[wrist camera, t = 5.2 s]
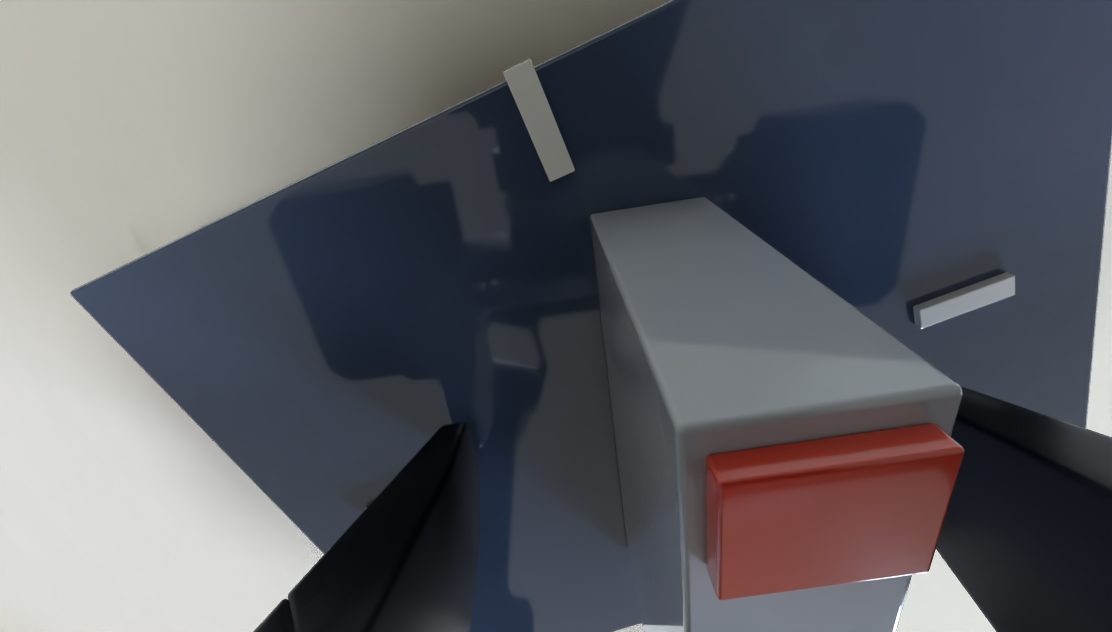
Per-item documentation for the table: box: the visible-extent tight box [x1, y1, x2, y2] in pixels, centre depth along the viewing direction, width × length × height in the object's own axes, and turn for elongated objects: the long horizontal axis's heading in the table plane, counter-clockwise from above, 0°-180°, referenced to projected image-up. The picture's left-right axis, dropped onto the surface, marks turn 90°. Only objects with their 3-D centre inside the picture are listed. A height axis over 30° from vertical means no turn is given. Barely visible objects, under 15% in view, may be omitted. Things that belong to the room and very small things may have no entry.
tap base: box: [70, 0, 1112, 632], centre depth 10 cm, size 14×11×3 cm
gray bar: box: [590, 197, 965, 632], centre depth 6 cm, size 7×2×5 cm, turn 8°
